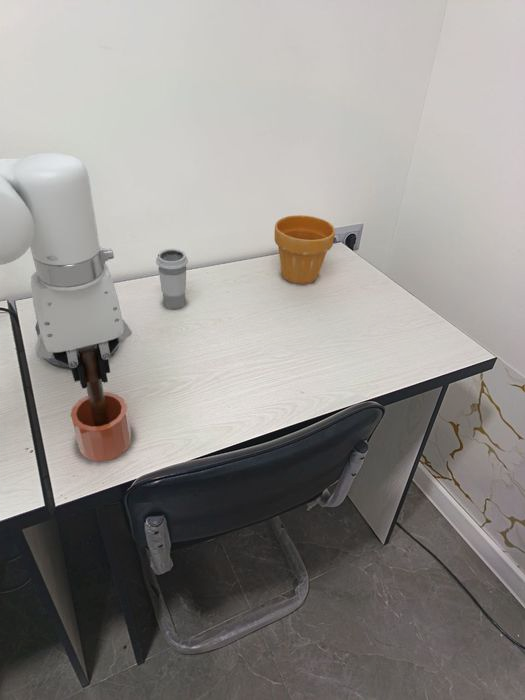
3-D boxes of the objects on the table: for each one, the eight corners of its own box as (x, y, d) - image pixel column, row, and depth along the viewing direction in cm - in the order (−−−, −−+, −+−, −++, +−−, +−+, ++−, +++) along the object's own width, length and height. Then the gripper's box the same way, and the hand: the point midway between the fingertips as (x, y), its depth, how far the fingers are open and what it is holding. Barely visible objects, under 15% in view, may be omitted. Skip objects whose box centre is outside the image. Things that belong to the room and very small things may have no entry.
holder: (85, 468, 74) (77, 437, 70) (74, 432, 80) (66, 401, 75) (137, 450, 78) (133, 419, 73) (123, 417, 83) (118, 386, 79)
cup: (159, 295, 113) (155, 247, 106) (188, 294, 114) (186, 247, 107) (159, 312, 108) (155, 263, 100) (190, 311, 109) (188, 262, 101)
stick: (99, 445, 77) (80, 355, 66) (96, 435, 78) (76, 346, 67) (113, 440, 78) (96, 351, 67) (109, 431, 79) (93, 342, 68)
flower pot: (266, 262, 128) (270, 215, 120) (319, 261, 131) (325, 214, 123) (277, 291, 118) (281, 241, 110) (334, 289, 120) (342, 239, 112)
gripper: (126, 240, 65) (139, 350, 76) (-8, 262, 58) (28, 379, 70) (144, 266, 60) (155, 380, 71) (0, 293, 53) (37, 413, 65)
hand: (92, 378), depth 70 cm, fingers closed on stick, 2 cm apart
